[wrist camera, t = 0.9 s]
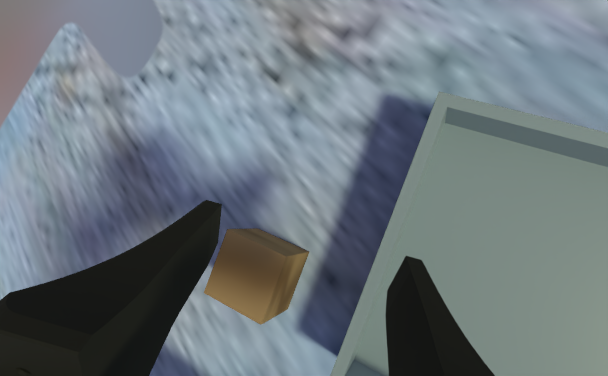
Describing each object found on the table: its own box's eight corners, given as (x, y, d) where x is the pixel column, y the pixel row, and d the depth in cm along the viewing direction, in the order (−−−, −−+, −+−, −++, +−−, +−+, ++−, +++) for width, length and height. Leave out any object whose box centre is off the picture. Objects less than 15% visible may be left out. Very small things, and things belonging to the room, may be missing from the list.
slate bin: (663, 536, 20) (723, 617, 16) (342, 360, 27) (326, 384, 23) (799, 208, 20) (897, 203, 16) (437, 112, 27) (438, 91, 23)
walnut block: (288, 308, 29) (260, 324, 25) (238, 282, 31) (203, 292, 26) (309, 251, 29) (286, 256, 24) (258, 228, 31) (227, 229, 26)
